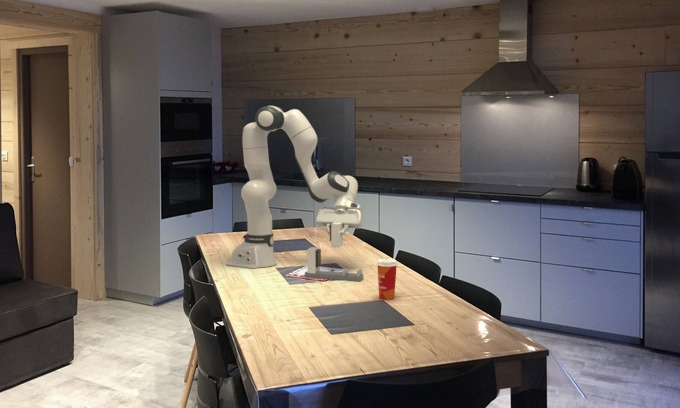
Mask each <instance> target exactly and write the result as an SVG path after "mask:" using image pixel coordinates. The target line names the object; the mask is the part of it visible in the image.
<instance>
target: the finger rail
mask: <svg viewBox="0 0 680 408" xmlns="http://www.w3.org/2000/svg"><path fill="white" fill-rule="evenodd" d="M306 251H307V252H306V253H307V270H306V271H305V272H304V278H306V277H311V278H310V279H319V278H323V279H322V280H334V281H347V282H348V281H349V282H362V281H363V280H364V273H363V269H362V268H360V269H358V270H357V271H356V273H353V272H349V267H346V268H345V269H343V270H342V272H339V271H327V270H326V271H324V270H320V267H321V266H322V253H321V252H322V249H321V248H320V247H316V246H315V247H314V246H311V247H309V248H308V249H307V250H306Z"/></svg>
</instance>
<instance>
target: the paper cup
mask: <svg viewBox="0 0 680 408" xmlns="http://www.w3.org/2000/svg"><path fill="white" fill-rule="evenodd" d="M397 262H398V261H397V260H396V259H394V258H382V259H378V260H377V262H376V265H377V282H378V283H377V285H378V297H379V299H380V300H387V301H388V300H393V299H394V298H395V293H396V290H395V289H396V282H397V281H396V280H397V279H396V278H397V267H398V263H397Z"/></svg>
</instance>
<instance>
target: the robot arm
mask: <svg viewBox="0 0 680 408" xmlns="http://www.w3.org/2000/svg"><path fill="white" fill-rule="evenodd" d="M254 119H255V121H254V122H250V123H247V124H246V125H245V126H244V127H243V129H242V151H243V152H242V153H243V154H242V155H243V163H244V168H245V169H246V171H247V174H248V179H249V181H247V182H246V183H245V184H243V186H242V188H241V191H240V195H241V198H242V200H243V202H244V208H245V212H246V218H247V219H246V221H247V233H246V234H244V235H242V239H243V240H244V241H243V242H241V243H240V244H239V245H238V246H237V247H236V248H234V249H233V250H232V253H231V257H230V258H231V259H229V260H227V261H226V263H225V264H226V266H231V267H239V268H245V269H256V268H257V269H258V268H267V267H272V266H275V265H276V264H277V262H276V261H277V260H276V258H275V254H274V243H275V242H274V240H275V239H274V233H273V215H272V213H271V211H270V206H269V201H270V200H272V198H273V197H274V196H275V195H276V193H277V185H276V182H275V180H274V177H273V172H272V169H271V166H270V158H269V157H270V156H269V148H268V147H269V145H268V135H269V134H270V133H274V132H275V131H278V130H280V129H281V130H283V131H284V132H285V133H286V135H287V136H288V137H289V140H290V141H291V143H292V145H293V147H294V148H293V149H294V157H295V161H296V163H297V166H298V168H299V170H300V172H301V175H302V178H303V179H304V181H305V183H306V187H307V190H308V194H309V197H310V198H311V199H312V200H313V201H315V202H316V203H321V204H322V203H325V202H326V201H327V200H329V199H330V198H332V197H334V200H333V205H332V207H328V206H327V207H326V206H323V207H321V208H319V210H318V214H317V216H316V219H315V222H316V224H317V226H318V227H327V234H328V235H330V225H331V224H332V223H334V222H335V223H342V224H343V230H341V232H340V234H341V235H343V236H345V233H346V232H347V231H348V230H349V229H358V230H359V229H361V228H362V226H363V219H364V218H363V210H362V207H361V204H358V203H357V202H356V203H355V200H356V198H357V194H358V189H359V184H358V181H357V179H356V178H355V177H353V176H351V175H342V174H341V173H339V172H337V171H330V172H328V173H326V174H325V175H323V176H321V177H320V178H319V177H318V175H317V172H316V170H315V168H314V166H313V164H312V155H313V153H314V151H315V149H316V147H317V145H318V135H317V133H316V131H315V129H314V128H313V126H312V125H311V123H310V121H309V119H308V118H307V117H306V116H305V115H304V114H303V112H301V110H299V109H298V108H297V109H296V108H293V109H290V110H288V111H286V112H284V110H283V109H282V108H281V107H278V106H275V105H266V106H262V107H260V108H259V109H258V110H257V112H256V113H255V117H254Z"/></svg>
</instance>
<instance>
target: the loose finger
mask: <svg viewBox="0 0 680 408" xmlns="http://www.w3.org/2000/svg"><path fill="white" fill-rule="evenodd" d="M343 229H344V228H343V224H342V223H335V222H334V223H332V224H331V225H330V234H329V241H330V244H331V245H330V247H331V248H337V249H338V248H340V247H343V238H344V237H343V236H344V235H341V234H340V232H341V230H343Z"/></svg>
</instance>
